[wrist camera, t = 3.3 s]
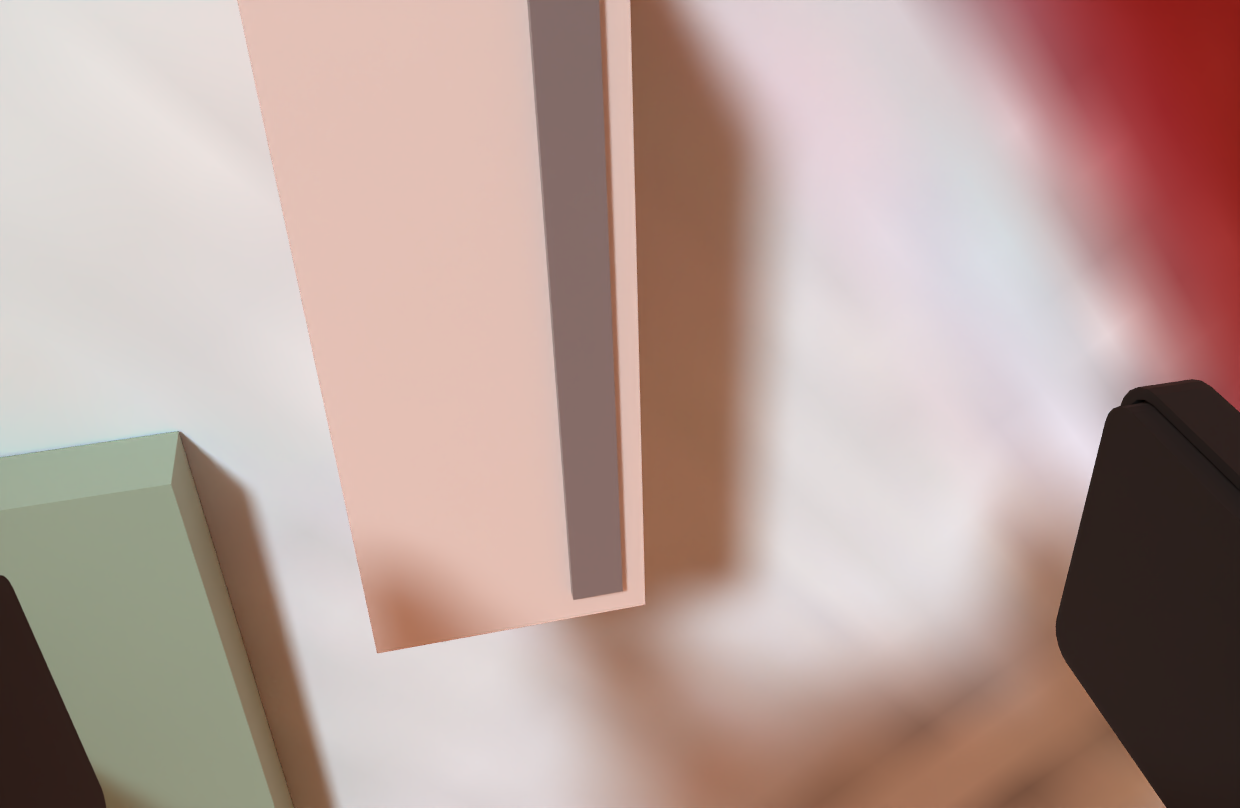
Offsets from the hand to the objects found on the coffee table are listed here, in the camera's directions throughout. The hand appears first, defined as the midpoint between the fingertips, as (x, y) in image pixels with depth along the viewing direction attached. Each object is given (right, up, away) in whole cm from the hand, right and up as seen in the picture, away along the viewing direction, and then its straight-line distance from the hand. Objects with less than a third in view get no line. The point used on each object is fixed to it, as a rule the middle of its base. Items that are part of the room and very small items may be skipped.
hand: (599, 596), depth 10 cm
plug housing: (-3, +6, +8) cm, 11 cm away
